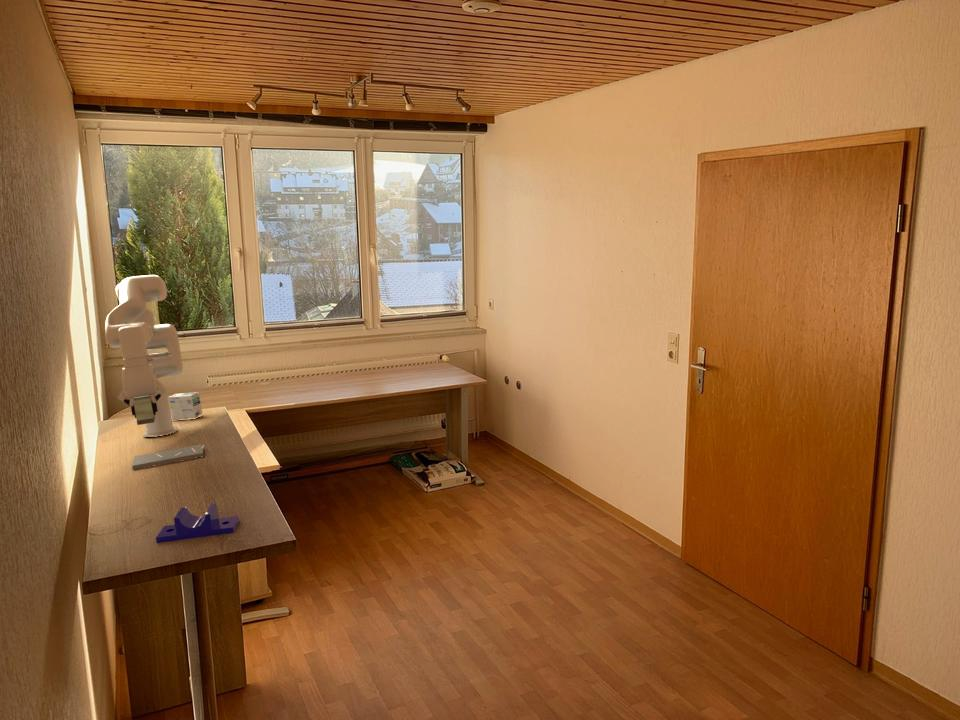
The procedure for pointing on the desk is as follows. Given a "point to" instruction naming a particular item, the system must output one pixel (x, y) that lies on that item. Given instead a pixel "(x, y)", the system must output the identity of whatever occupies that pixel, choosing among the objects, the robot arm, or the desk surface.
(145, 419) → the block
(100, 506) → the desk surface
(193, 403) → the light bulb box
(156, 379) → the robot arm
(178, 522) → the mounting bracket
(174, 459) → the board
